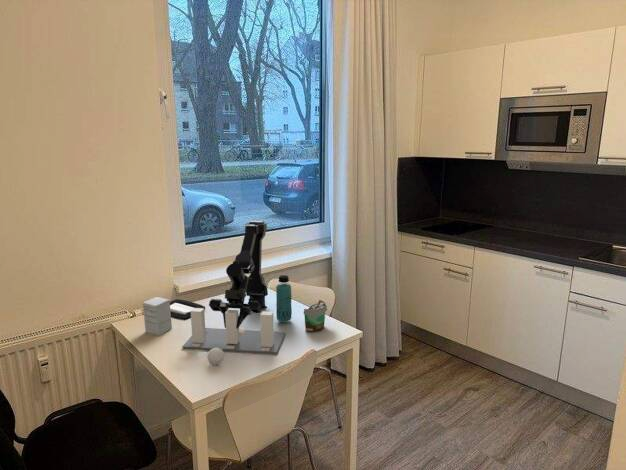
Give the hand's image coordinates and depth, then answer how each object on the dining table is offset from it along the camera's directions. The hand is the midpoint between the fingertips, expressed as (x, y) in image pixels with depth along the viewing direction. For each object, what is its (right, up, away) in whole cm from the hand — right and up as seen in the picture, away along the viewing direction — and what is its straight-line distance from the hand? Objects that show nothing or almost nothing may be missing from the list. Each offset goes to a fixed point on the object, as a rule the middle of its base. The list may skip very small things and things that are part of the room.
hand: (231, 328), depth 156 cm
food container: (+32, -4, +17) cm, 36 cm away
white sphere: (-4, -10, -10) cm, 15 cm away
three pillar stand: (+1, -6, +6) cm, 9 cm away
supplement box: (-32, -5, +15) cm, 36 cm away
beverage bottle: (+18, -3, +23) cm, 29 cm away
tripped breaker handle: (0, -6, +3) cm, 6 cm away
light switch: (-29, 0, +34) cm, 45 cm away
